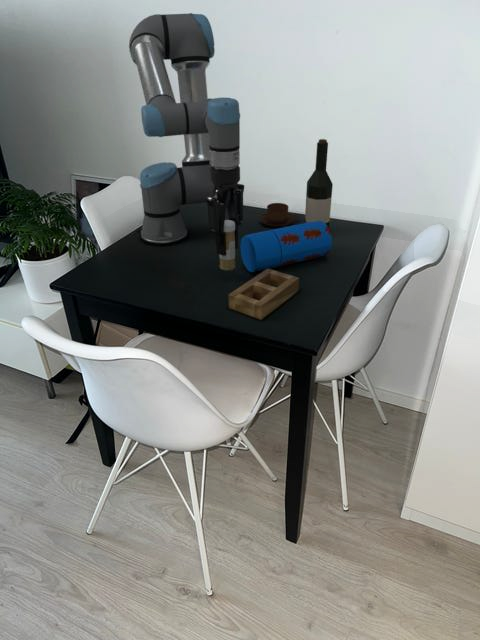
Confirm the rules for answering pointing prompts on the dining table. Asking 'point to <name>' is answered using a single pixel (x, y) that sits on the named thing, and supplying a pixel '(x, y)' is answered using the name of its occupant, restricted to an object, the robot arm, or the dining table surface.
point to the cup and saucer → (277, 215)
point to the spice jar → (229, 247)
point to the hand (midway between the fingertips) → (227, 250)
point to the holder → (263, 293)
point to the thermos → (285, 245)
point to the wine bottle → (319, 188)
